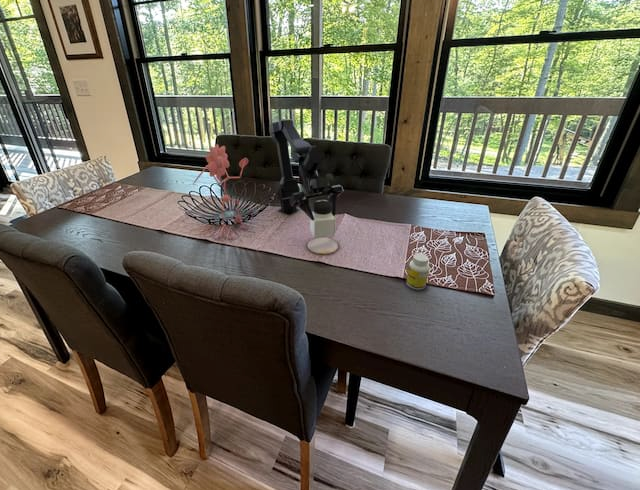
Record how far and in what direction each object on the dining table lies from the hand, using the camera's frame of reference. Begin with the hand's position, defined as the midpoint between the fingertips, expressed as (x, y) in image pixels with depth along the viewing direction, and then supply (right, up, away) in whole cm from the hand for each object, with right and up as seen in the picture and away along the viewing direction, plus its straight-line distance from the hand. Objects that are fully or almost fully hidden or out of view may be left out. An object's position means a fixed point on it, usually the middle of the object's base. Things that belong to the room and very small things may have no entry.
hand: (323, 217), depth 107 cm
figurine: (-38, -5, +21) cm, 43 cm away
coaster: (0, -10, +7) cm, 12 cm away
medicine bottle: (0, -5, +4) cm, 7 cm away
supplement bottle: (+25, -20, -14) cm, 35 cm away
